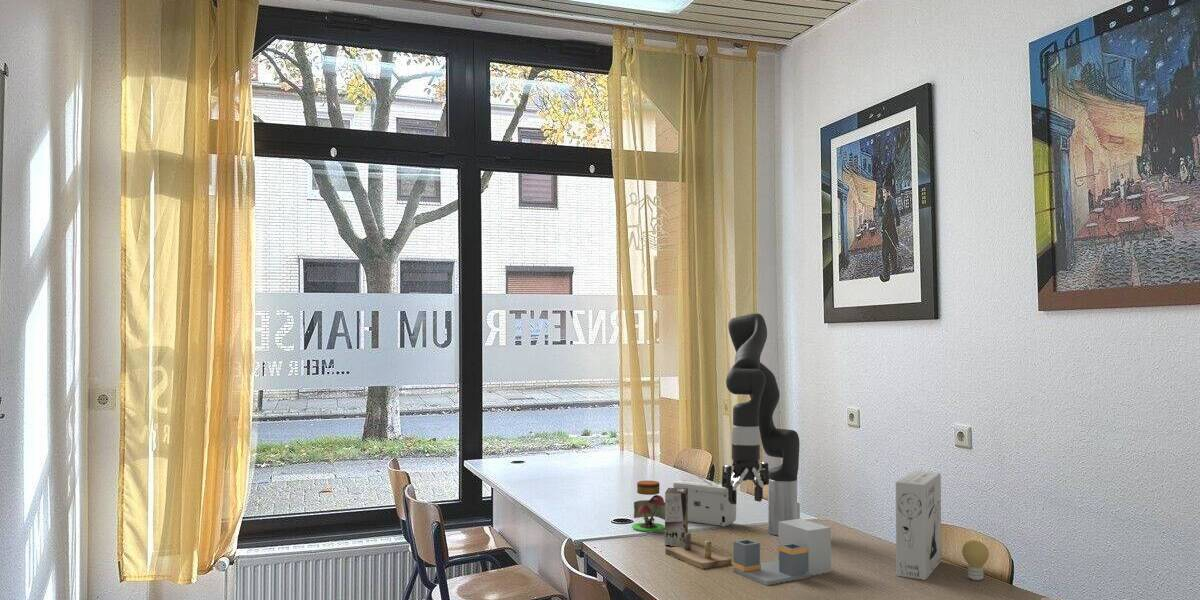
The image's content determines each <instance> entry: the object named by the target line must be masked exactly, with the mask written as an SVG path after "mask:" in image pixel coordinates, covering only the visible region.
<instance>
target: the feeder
mask: <svg viewBox="0 0 1200 600" xmlns="http://www.w3.org/2000/svg"><path fill="white" fill-rule="evenodd" d="M831 529H832V527H830V526H828V525H823V524H820V523H816V522H814V521H809V520H806V519H802V518H800V519H794V520H787V521H780V522H778V535H777V536H778V538H777V540H778V542H777V543H778V544H777V547H778V546H779V545H784V544H791V543H795V544H798V545H801V546H804V547H807V552H806V574H804V575H798V576H793V577H792V576H789V575H786V574H784V573H781V572H779V550H778V549H777V551H778V560H774V561H773V560H772V561H766V562H760V564H761V569H759V570H753V571H747V572H744V571H742V570H739V569H737V568H734V567H732V572H733V573H736V574H737V575H741V576H743V577H744V578H745V577H746V578H748V579H750V580H753V581H755V582H758V583H761V584H763V585H765V586H771V584H772V585H776V583H777V584H781V583H780V582H783V583H787V582H786V581H788V582H793V581H792V580H794V581H798V580H797V579H799V580H803V579H802V578H804V579H810V578H812V576H811V575H813V576H818V575H823V574H822V573H824V574H829V573H832V532H831V531H832V530H831ZM828 572H829V573H828ZM817 574H818V575H817ZM809 577H810V578H809Z"/></svg>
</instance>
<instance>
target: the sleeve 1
mask: <svg viewBox="0 0 1200 600" xmlns="http://www.w3.org/2000/svg"><path fill="white" fill-rule="evenodd" d="M732 544H733V549H732V550H733V554H732V555H733V561H731V565H732V568H737V569H739V570H742V571H744V572H747V571H753V570H759V569H761V564H760V563H761V543H760V542H757V541H755V540H752V539H749V538H745V539H739V540H738V539H737V540H733V543H732Z"/></svg>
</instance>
